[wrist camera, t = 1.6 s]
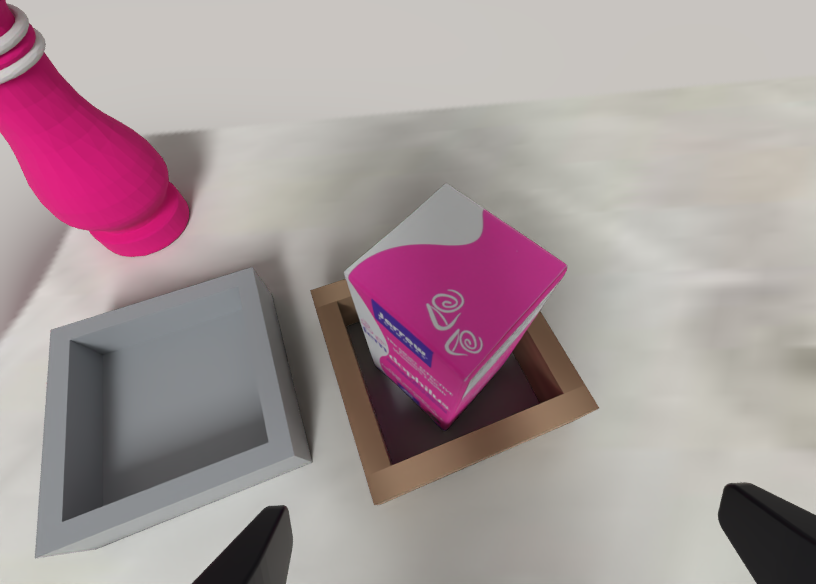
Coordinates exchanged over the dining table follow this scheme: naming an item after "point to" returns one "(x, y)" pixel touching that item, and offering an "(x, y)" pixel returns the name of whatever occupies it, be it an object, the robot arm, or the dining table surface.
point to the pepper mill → (82, 151)
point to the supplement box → (449, 300)
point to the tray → (164, 412)
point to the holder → (558, 407)
